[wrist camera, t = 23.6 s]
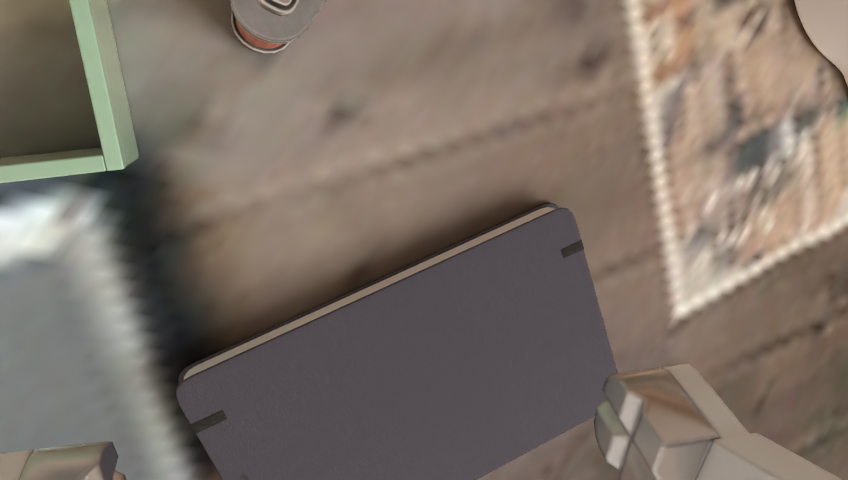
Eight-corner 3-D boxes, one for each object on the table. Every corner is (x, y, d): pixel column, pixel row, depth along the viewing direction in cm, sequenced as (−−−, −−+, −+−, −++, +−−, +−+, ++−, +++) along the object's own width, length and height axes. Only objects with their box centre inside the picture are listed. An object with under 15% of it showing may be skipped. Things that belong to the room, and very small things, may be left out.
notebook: (280, 562, 33) (610, 387, 37) (283, 584, 31) (626, 399, 35) (171, 372, 29) (556, 197, 32) (168, 387, 27) (571, 202, 31)
